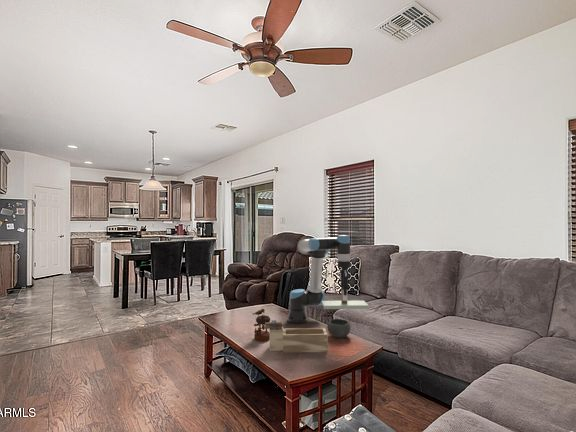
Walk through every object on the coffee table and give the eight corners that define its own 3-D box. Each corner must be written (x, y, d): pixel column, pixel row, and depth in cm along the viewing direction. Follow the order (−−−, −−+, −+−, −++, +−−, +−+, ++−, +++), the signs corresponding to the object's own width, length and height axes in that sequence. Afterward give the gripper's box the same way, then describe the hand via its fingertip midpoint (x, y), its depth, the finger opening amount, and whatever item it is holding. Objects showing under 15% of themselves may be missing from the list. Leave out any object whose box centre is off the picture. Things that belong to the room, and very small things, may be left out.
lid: (321, 304, 199) (321, 286, 199) (363, 303, 199) (363, 285, 199) (323, 309, 187) (323, 290, 187) (368, 308, 187) (368, 289, 187)
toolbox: (270, 344, 198) (270, 318, 198) (325, 344, 198) (324, 317, 199) (269, 352, 186) (269, 324, 186) (327, 352, 186) (327, 323, 187)
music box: (260, 344, 199) (258, 311, 201) (249, 341, 207) (247, 309, 208) (277, 337, 210) (275, 306, 212) (266, 335, 218) (265, 305, 219)
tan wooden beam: (265, 327, 193) (265, 322, 193) (281, 327, 193) (281, 322, 193) (265, 328, 191) (265, 323, 191) (281, 328, 191) (281, 323, 191)
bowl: (353, 335, 214) (353, 320, 214) (345, 342, 201) (345, 326, 201) (333, 331, 221) (332, 317, 222) (324, 338, 209) (324, 322, 209)
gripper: (335, 259, 202) (336, 296, 201) (339, 262, 185) (340, 302, 185) (347, 259, 202) (348, 296, 201) (352, 262, 185) (353, 302, 184)
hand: (344, 299), depth 193 cm, fingers closed on lid, 4 cm apart
